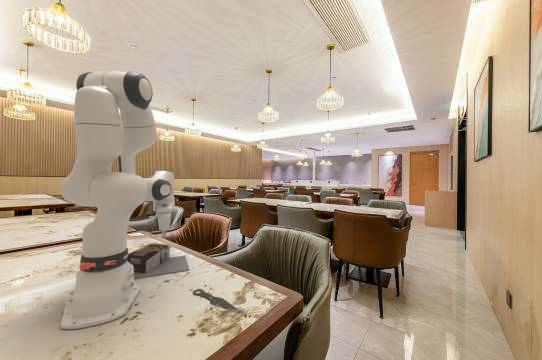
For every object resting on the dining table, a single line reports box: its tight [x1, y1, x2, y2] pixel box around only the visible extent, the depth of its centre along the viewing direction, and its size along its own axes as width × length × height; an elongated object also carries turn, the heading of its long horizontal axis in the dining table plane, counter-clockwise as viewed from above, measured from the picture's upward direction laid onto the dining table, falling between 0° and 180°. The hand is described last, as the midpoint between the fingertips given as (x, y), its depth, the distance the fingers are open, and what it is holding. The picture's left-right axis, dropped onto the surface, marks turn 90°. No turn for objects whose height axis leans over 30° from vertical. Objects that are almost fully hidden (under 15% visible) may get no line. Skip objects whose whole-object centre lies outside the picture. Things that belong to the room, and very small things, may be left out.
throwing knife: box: [192, 288, 241, 313], centre depth 70 cm, size 4×20×1 cm, turn 57°
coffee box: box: [127, 242, 171, 273], centre depth 95 cm, size 9×6×16 cm
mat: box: [134, 255, 190, 280], centre depth 94 cm, size 17×20×1 cm
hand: (163, 236), depth 104 cm, fingers closed
